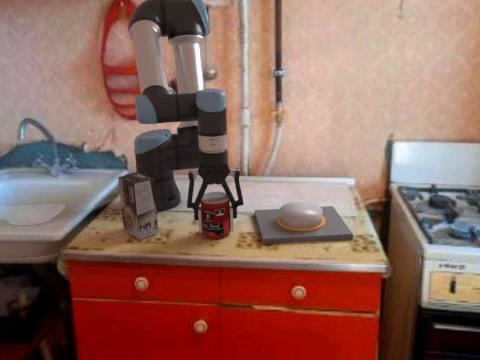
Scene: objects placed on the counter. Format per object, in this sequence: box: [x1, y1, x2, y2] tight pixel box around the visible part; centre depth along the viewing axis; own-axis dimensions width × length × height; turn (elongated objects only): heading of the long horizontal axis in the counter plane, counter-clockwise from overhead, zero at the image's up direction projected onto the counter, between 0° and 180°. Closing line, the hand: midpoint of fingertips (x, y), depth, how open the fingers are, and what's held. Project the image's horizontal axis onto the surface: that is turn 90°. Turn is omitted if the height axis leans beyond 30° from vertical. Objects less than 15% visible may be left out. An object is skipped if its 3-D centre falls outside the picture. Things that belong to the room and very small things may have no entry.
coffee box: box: [117, 172, 159, 240], centre depth 133 cm, size 9×6×16 cm
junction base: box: [253, 201, 354, 245], centre depth 136 cm, size 20×24×5 cm
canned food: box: [200, 191, 231, 240], centre depth 131 cm, size 8×8×11 cm
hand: (216, 229), depth 133 cm, fingers closed on canned food, 8 cm apart
